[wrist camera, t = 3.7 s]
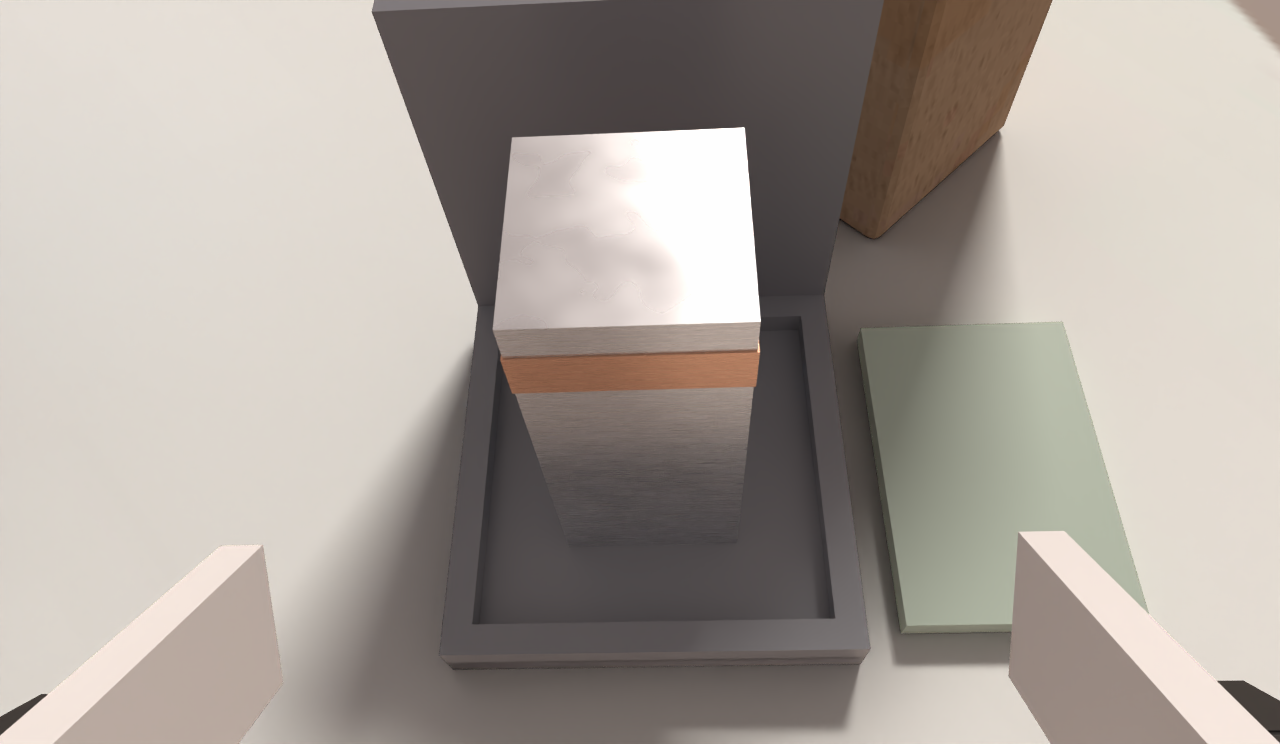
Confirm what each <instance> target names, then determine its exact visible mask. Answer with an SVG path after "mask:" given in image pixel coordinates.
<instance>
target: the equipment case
mask: <svg viewBox="0 0 1280 744" xmlns="http://www.w3.org/2000/svg"><path fill="white" fill-rule="evenodd" d="M883 3H884V0H374V4H373V9H372V14H373V16H374V19H375V22H376V25H377V27H378V30H379V33H380V36H381V38H382V41H383V44H384V47H385V49H386V52H387V55H388V58H389V60H390V63H391V66H392V69H393V72H394V74H395V77H396V80H397V83H398V85H399V88H400V91H401V94H402V96H403V99H404V102H405V105H406V107H407V110H408V113H409V116H410V119H411V121H412V124H413V127H414V130H415V132H416V135H417V138H418V141H419V143H420V146H421V149H422V152H423V154H424V157H425V160H426V163H427V165H428V168H429V171H430V174H431V177H432V179H433V182H434V185H435V188H436V190H437V193H438V196H439V199H440V201H441V204H442V207H443V210H444V212H445V215H446V218H447V221H448V224H449V226H450V229H451V232H452V235H453V237H454V240H455V243H456V246H457V248H458V251H459V254H460V257H461V259H462V262H463V265H464V268H465V270H466V273H467V276H468V279H469V282H470V284H471V287H472V290H473V293H474V295H475V298H476V301H477V304H478V313H477V322H476V331H475V340H474V349H473V358H472V367H471V376H470V384H469V393H468V402H467V411H466V420H465V429H464V438H463V447H462V456H461V464H460V473H459V482H458V491H457V500H456V509H455V518H454V527H453V536H452V545H451V553H450V562H449V571H448V580H447V589H446V598H445V607H444V616H443V625H442V633H441V642H440V651H439V656H440V657H441V658H442V659H443V660H444V661H445V662H446V663H447V664H448V665H449V666H450V667H451V668H452V669H453V670H454V669H527V668H599V667H671V666H743V665H816V664H861V663H862V661H863V660H864V658H865V657H866V655H867V653H868V652H869V650H870V643H869V635H868V627H867V620H866V612H865V604H864V597H863V589H862V582H861V574H860V566H859V559H858V551H857V544H856V536H855V528H854V521H853V513H852V505H851V498H850V490H849V483H848V475H847V467H846V460H845V452H844V445H843V437H842V429H841V422H840V414H839V406H838V399H837V391H836V384H835V376H834V368H833V361H832V353H831V346H830V338H829V330H828V323H827V315H826V308H825V300H824V291H825V286H826V281H827V276H828V272H829V267H830V262H831V257H832V252H833V247H834V242H835V237H836V232H837V228H838V223H839V218H840V213H841V208H842V203H843V198H844V193H845V189H846V184H847V179H848V174H849V169H850V164H851V159H852V154H853V149H854V145H855V140H856V135H857V130H858V125H859V120H860V115H861V110H862V105H863V101H864V96H865V91H866V86H867V81H868V76H869V71H870V66H871V61H872V57H873V52H874V47H875V42H876V37H877V32H878V27H879V22H880V17H881V13H882V8H883ZM728 128H744V131H745V143H746V155H747V166H748V178H749V190H750V202H751V213H752V225H753V237H754V249H755V260H756V272H757V284H758V296H759V307H760V319H761V324H760V333H759V347H760V356H759V365H758V374H757V383H756V387H754V389H753V398H752V408H751V417H750V426H749V436H748V445H747V454H746V464H745V473H744V482H743V492H742V501H741V510H740V520H739V529H738V538H737V543H734V544H685V545H635V546H586V547H569V546H568V543H567V540H566V537H565V534H564V531H563V528H562V526H561V523H560V520H559V517H558V514H557V511H556V509H555V506H554V503H553V500H552V497H551V494H550V492H549V489H548V486H547V483H546V480H545V477H544V475H543V472H542V469H541V466H540V463H539V460H538V458H537V455H536V452H535V449H534V446H533V443H532V441H531V438H530V435H529V432H528V429H527V426H526V423H525V421H524V418H523V415H522V412H521V409H520V406H519V404H518V401H517V398H516V395H515V394H512V392H511V389H510V386H509V383H508V380H507V378H506V375H505V372H504V369H503V366H502V364H501V361H500V358H501V353H500V350H499V347H498V344H497V341H496V338H495V336H494V333H493V321H494V311H495V301H496V291H497V281H498V272H499V262H500V252H501V242H502V232H503V222H504V212H505V202H506V192H507V182H508V172H509V162H510V152H511V142H512V137H536V136H560V135H584V134H608V133H632V132H656V131H680V130H704V129H728Z"/></svg>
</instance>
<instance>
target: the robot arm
mask: <svg viewBox="0 0 1280 744" xmlns="http://www.w3.org/2000/svg"><path fill="white" fill-rule="evenodd" d="M1009 678H1010V679H1011V681H1012V683H1013V684H1014V686H1015V687H1016V689H1017V691H1018V692H1019V694H1020V695H1021V697H1022V698H1023V700H1024V702H1025V703H1026V705H1027V706H1028V708H1029V710H1030V711H1031V713H1032V714H1033V716H1034V718H1035V719H1036V721H1037V722H1038V724H1039V726H1040V727H1041V729H1042V730H1043V732H1044V734H1045V735H1046V737H1047V738H1048V740H1049V741H1050V743H1051V744H1280V701H1279V700H1277V699H1276V698H1274V697H1272V696H1270V695H1268V694H1267V693H1265V692H1263V691H1261V690H1259V689H1258V688H1256V687H1254V686H1252V685H1250V684H1249V683H1247V682H1245V681H1216V680H1215V679H1214V678H1213V677H1212V676H1211V675H1210V674H1209V673H1208V672H1207V671H1206V670H1205V669H1204V668H1203V667H1202V666H1201V665H1200V664H1199V663H1198V662H1197V661H1196V660H1195V659H1194V658H1193V657H1192V656H1191V655H1190V654H1189V653H1188V652H1187V651H1186V650H1185V649H1184V648H1183V647H1182V646H1181V645H1180V644H1179V643H1178V642H1177V641H1176V640H1175V639H1174V638H1173V637H1172V636H1171V635H1169V634H1168V633H1167V632H1166V631H1165V630H1164V629H1163V628H1162V627H1161V626H1160V625H1159V624H1158V623H1157V622H1156V621H1155V620H1154V619H1153V618H1152V617H1151V616H1150V615H1149V614H1148V613H1147V612H1146V611H1145V610H1144V609H1143V608H1142V607H1141V606H1140V605H1139V604H1138V603H1137V602H1136V601H1135V600H1134V599H1133V598H1132V597H1131V596H1130V595H1129V594H1128V593H1127V592H1126V591H1125V590H1124V589H1123V588H1122V587H1121V586H1120V585H1119V584H1118V583H1117V582H1116V581H1115V580H1114V579H1113V578H1112V577H1111V576H1110V575H1109V574H1108V573H1107V572H1106V571H1104V570H1103V569H1102V568H1101V567H1100V566H1099V565H1098V564H1097V563H1096V562H1095V561H1094V560H1093V559H1092V558H1091V557H1090V556H1089V555H1088V554H1087V553H1086V552H1085V551H1084V550H1083V549H1082V548H1081V547H1080V546H1079V545H1078V544H1077V543H1076V542H1075V541H1074V540H1073V539H1072V538H1071V537H1070V536H1069V535H1068V534H1067V533H1066V532H1065V531H1031V532H1018V543H1017V557H1016V572H1015V587H1014V602H1013V616H1012V631H1011V646H1010V661H1009ZM282 684H283V677H282V670H281V663H280V657H279V650H278V643H277V637H276V630H275V623H274V616H273V610H272V603H271V596H270V589H269V583H268V576H267V569H266V562H265V556H264V549H263V545H223V546H220V547H218V548H217V549H216V550H215V551H214V552H213V553H211V554H210V555H209V556H208V557H207V558H206V559H205V560H203V561H202V562H201V563H200V564H199V565H198V566H196V567H195V568H194V569H193V570H192V571H191V572H189V573H188V574H187V575H186V576H185V577H184V578H182V579H181V580H180V581H179V582H178V583H177V584H176V585H174V586H173V587H172V588H171V589H170V590H169V591H167V592H166V593H165V594H164V595H163V596H162V597H160V598H159V599H158V600H157V601H156V602H155V603H153V604H152V605H151V606H150V607H149V608H148V609H147V610H145V611H144V612H143V613H142V614H141V615H140V616H138V617H137V618H136V619H135V620H134V621H133V622H131V623H130V624H129V625H128V626H127V627H126V628H124V629H123V630H122V631H121V632H120V633H119V634H118V635H116V636H115V637H114V638H113V639H112V640H111V641H109V642H108V643H107V644H106V645H105V646H104V647H102V648H101V649H100V650H99V651H98V652H97V653H95V654H94V655H93V656H92V657H91V658H90V659H89V660H87V661H86V662H85V663H84V664H83V665H82V666H80V667H79V668H78V669H77V670H76V671H75V672H73V673H72V674H71V675H70V676H69V677H68V678H66V679H65V680H64V681H63V682H62V683H61V684H60V685H58V686H57V687H56V688H55V689H54V690H53V691H51V692H50V693H49V694H41V695H39V696H37V697H35V698H34V699H32V700H30V701H28V702H26V703H24V704H23V705H21V706H19V707H17V708H15V709H14V710H12V711H10V712H8V713H6V714H4V715H3V716H1V717H0V744H239V742H240V741H241V740H242V738H243V737H244V736H245V734H246V733H247V731H248V730H249V729H250V727H251V726H252V725H253V723H254V722H255V721H256V719H257V718H258V717H259V715H260V714H261V713H262V711H263V710H264V709H265V707H266V706H267V705H268V703H269V702H270V700H271V699H272V698H273V696H274V695H275V694H276V692H277V691H278V690H279V688H280V687H281V686H282Z"/></svg>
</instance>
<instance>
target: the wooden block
mask: <svg viewBox="0 0 1280 744" xmlns="http://www.w3.org/2000/svg"><path fill="white" fill-rule="evenodd" d="M1051 3H1052V0H884V3H883V8H882V13H881V17H880V22H879V27H878V32H877V37H876V42H875V47H874V52H873V57H872V61H871V66H870V71H869V76H868V81H867V86H866V91H865V96H864V101H863V105H862V110H861V115H860V120H859V125H858V130H857V135H856V140H855V145H854V149H853V154H852V159H851V164H850V169H849V174H848V179H847V184H846V189H845V193H844V198H843V203H842V208H841V213H840V219H841V220H843V221H844V222H846V223H847V224H849V225H850V226H852V227H853V228H855V229H856V230H858V231H859V232H861V233H862V234H864V235H865V236H867V237H869V238H872V239H875V238H878V237H880V236H881V235H882V234H883V233H884V232H886V231H887V230H888V229H889V228H890V227H891V226H892V225H893V224H895V223H896V222H897V221H898V220H899V219H900V218H901V217H902V216H903V215H905V214H906V213H907V212H908V211H909V210H910V209H911V208H912V207H913V206H915V205H916V204H917V203H918V202H919V201H920V200H921V199H922V198H924V197H925V196H926V195H927V194H928V193H929V192H930V191H931V190H932V189H934V188H935V187H936V186H937V185H938V184H939V183H940V182H941V181H943V180H944V179H945V178H946V177H947V176H948V175H949V174H950V173H951V172H953V171H954V170H955V169H956V168H957V167H958V166H959V165H960V164H961V163H963V162H964V161H965V160H966V159H967V158H968V157H969V156H970V155H972V154H973V153H974V152H975V151H976V150H977V149H978V148H979V147H980V146H982V145H983V144H984V143H985V142H986V141H987V140H988V139H989V138H990V137H992V136H993V135H994V134H995V133H996V132H997V131H998V130H999V129H1001V128H1002V127H1003V126H1004V124H1005V121H1006V119H1007V116H1008V113H1009V111H1010V108H1011V106H1012V103H1013V101H1014V98H1015V95H1016V93H1017V90H1018V88H1019V85H1020V83H1021V80H1022V77H1023V75H1024V72H1025V70H1026V67H1027V65H1028V62H1029V59H1030V57H1031V54H1032V52H1033V49H1034V47H1035V44H1036V41H1037V39H1038V36H1039V34H1040V31H1041V29H1042V26H1043V23H1044V21H1045V18H1046V16H1047V13H1048V11H1049V8H1050V5H1051Z"/></svg>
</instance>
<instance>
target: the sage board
mask: <svg viewBox="0 0 1280 744" xmlns="http://www.w3.org/2000/svg"><path fill="white" fill-rule="evenodd" d="M857 344H858V351H859V357H860V364H861V371H862V377H863V384H864V391H865V397H866V404H867V411H868V418H869V424H870V431H871V438H872V444H873V451H874V458H875V464H876V471H877V478H878V484H879V491H880V498H881V504H882V511H883V518H884V524H885V531H886V538H887V544H888V551H889V558H890V564H891V571H892V578H893V584H894V591H895V598H896V604H897V611H898V618H899V624H900V631H901V634H904V633H969V632H1011V631H1012V616H1013V602H1014V587H1015V572H1016V557H1017V543H1018V532H1031V531H1065V532H1066V533H1067V534H1068V535H1069V536H1070V537H1071V538H1072V539H1073V540H1074V541H1075V542H1076V543H1077V544H1078V545H1079V546H1080V547H1081V548H1082V549H1083V550H1084V551H1085V552H1086V553H1087V554H1088V555H1089V556H1090V557H1091V558H1092V559H1093V560H1094V561H1095V562H1096V563H1097V564H1098V565H1099V566H1100V567H1101V568H1102V569H1103V570H1104V571H1106V572H1107V573H1108V574H1109V575H1110V576H1111V577H1112V578H1113V579H1114V580H1115V581H1116V582H1117V583H1118V584H1119V585H1120V586H1121V587H1122V588H1123V589H1124V590H1125V591H1126V592H1127V593H1128V594H1129V595H1130V596H1131V597H1132V598H1133V599H1134V600H1135V601H1136V602H1137V603H1138V604H1139V605H1140V606H1141V607H1142V608H1143V609H1144V610H1145V611H1146V612H1147V613H1148V614H1149V612H1148V609H1147V605H1146V602H1145V599H1144V595H1143V592H1142V589H1141V585H1140V582H1139V578H1138V575H1137V572H1136V568H1135V565H1134V561H1133V558H1132V555H1131V551H1130V548H1129V544H1128V541H1127V538H1126V534H1125V531H1124V527H1123V524H1122V521H1121V517H1120V514H1119V511H1118V507H1117V504H1116V500H1115V497H1114V494H1113V490H1112V487H1111V483H1110V480H1109V477H1108V473H1107V470H1106V466H1105V463H1104V460H1103V456H1102V453H1101V450H1100V446H1099V443H1098V439H1097V436H1096V433H1095V429H1094V426H1093V422H1092V419H1091V416H1090V412H1089V409H1088V405H1087V402H1086V399H1085V395H1084V392H1083V388H1082V385H1081V382H1080V378H1079V375H1078V372H1077V368H1076V365H1075V361H1074V358H1073V355H1072V351H1071V348H1070V344H1069V341H1068V338H1067V334H1066V331H1065V327H1064V324H1063V322H1037V323H1005V324H973V325H941V326H909V327H877V328H861V329H860V333H859V336H858V340H857Z"/></svg>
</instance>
